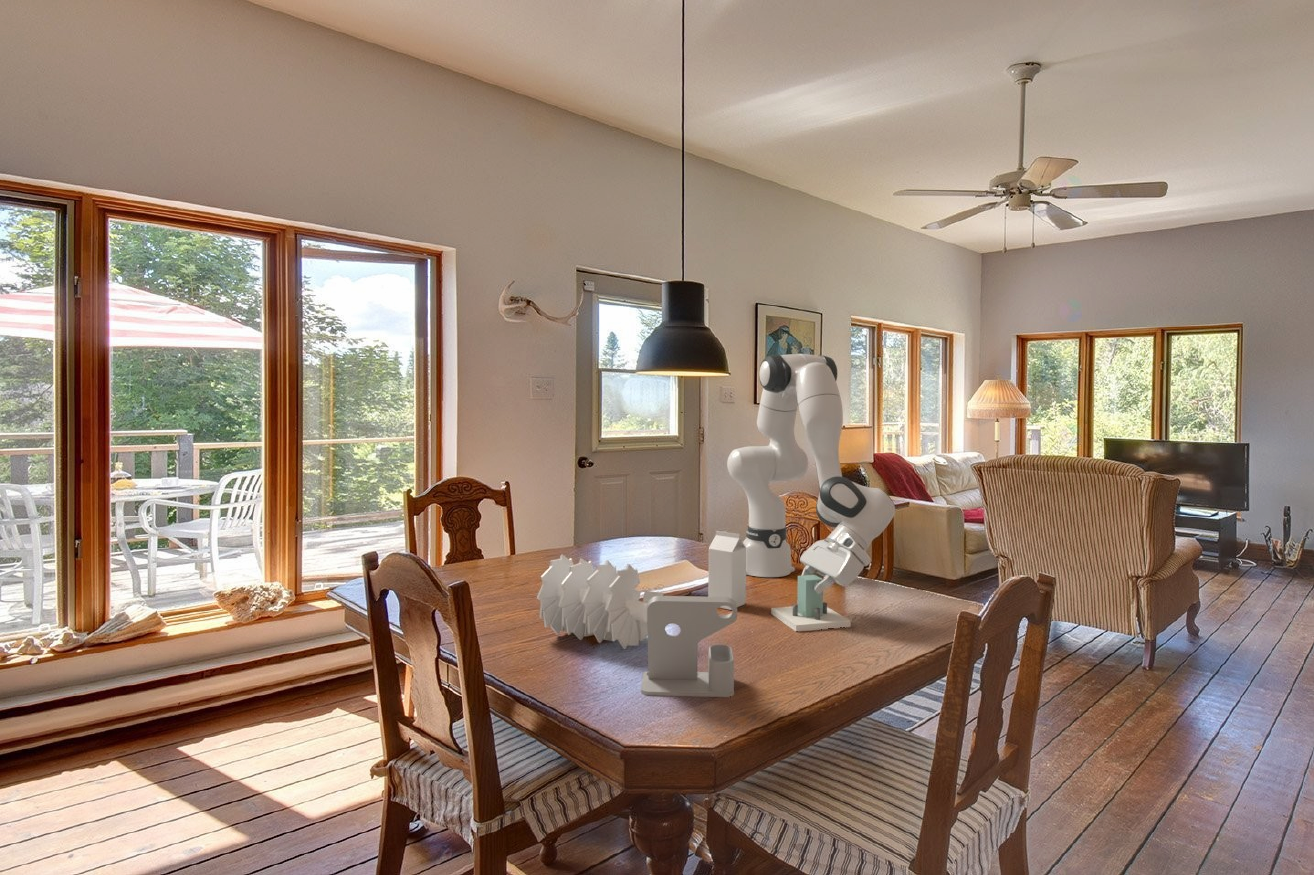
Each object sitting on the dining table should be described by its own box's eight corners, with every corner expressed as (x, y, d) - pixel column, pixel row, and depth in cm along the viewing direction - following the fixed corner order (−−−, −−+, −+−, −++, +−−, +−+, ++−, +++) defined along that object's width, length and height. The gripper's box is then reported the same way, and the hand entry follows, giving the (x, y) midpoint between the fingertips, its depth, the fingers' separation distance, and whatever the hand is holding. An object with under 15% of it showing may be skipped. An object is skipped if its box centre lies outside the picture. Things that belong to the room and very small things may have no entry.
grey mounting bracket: (733, 676, 141) (734, 584, 140) (736, 698, 131) (737, 599, 130) (643, 674, 142) (644, 583, 141) (640, 695, 132) (640, 597, 130)
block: (797, 612, 178) (797, 575, 177) (813, 610, 179) (814, 574, 178) (805, 617, 173) (806, 580, 173) (822, 616, 174) (823, 579, 174)
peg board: (771, 614, 181) (771, 598, 181) (822, 610, 185) (822, 594, 184) (795, 631, 168) (796, 614, 167) (850, 627, 171) (850, 610, 171)
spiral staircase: (633, 673, 152) (540, 646, 165) (672, 618, 166) (582, 597, 178) (617, 606, 144) (519, 583, 157) (658, 553, 157) (565, 536, 170)
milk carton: (731, 610, 184) (732, 536, 183) (707, 605, 188) (708, 533, 187) (745, 604, 189) (746, 532, 188) (722, 599, 194) (723, 529, 193)
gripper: (817, 528, 187) (781, 568, 185) (858, 544, 167) (819, 589, 165) (832, 545, 188) (797, 584, 186) (875, 563, 168) (836, 607, 166)
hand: (807, 587), depth 175 cm, fingers open, 6 cm apart
